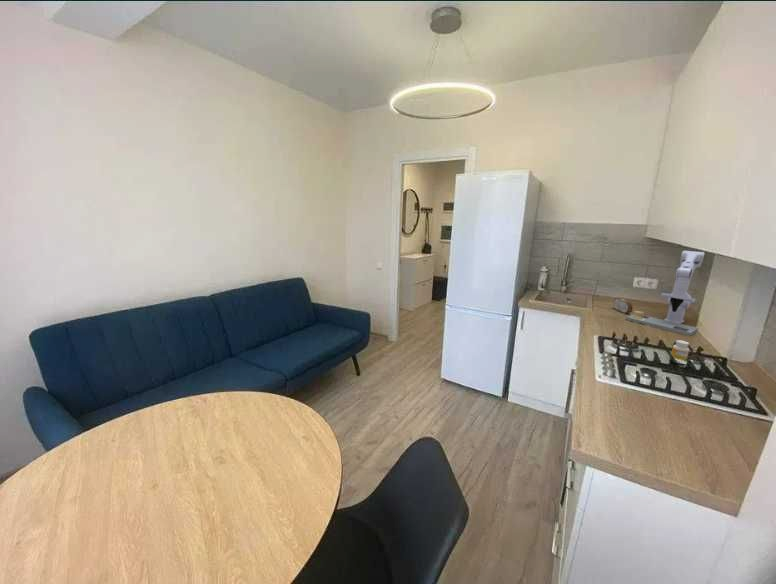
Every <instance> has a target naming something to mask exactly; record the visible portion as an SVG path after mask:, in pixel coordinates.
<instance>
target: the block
mask: <svg viewBox="0 0 776 584" xmlns="http://www.w3.org/2000/svg"><path fill="white" fill-rule="evenodd" d="M632 314H633V317H632V318H635V319H639V320H641V319H643V315H644V314H645V312H643V311H640V310H639V311H638V310H635V311H633V313H632ZM644 316H645V315H644Z"/></svg>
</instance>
